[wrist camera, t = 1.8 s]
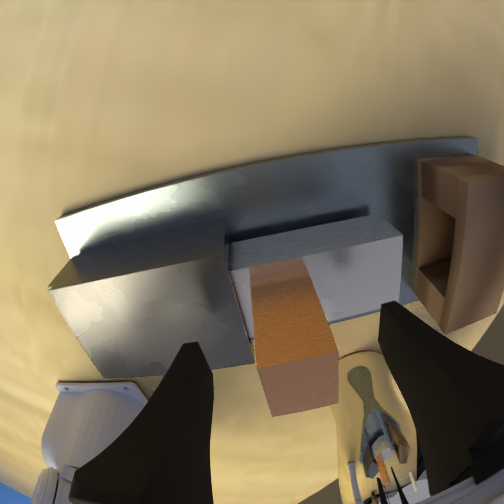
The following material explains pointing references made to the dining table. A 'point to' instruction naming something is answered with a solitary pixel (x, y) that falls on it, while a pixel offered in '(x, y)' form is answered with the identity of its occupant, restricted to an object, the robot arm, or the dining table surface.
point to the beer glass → (375, 436)
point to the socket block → (459, 239)
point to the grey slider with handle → (311, 301)
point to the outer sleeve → (219, 248)
